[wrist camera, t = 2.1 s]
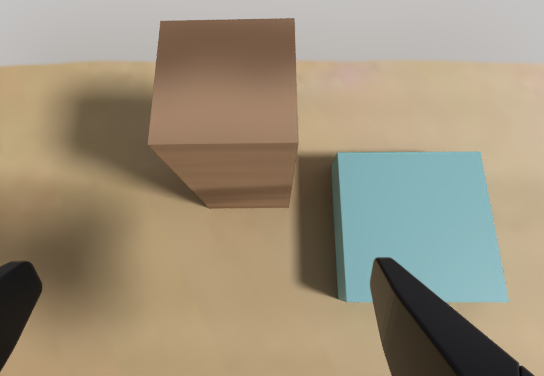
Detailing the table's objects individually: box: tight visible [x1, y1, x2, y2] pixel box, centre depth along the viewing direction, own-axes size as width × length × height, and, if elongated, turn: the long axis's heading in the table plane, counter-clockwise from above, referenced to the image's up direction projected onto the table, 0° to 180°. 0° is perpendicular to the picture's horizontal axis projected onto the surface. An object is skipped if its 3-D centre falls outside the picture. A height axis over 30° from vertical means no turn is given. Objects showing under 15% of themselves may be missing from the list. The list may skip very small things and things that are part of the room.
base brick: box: [331, 152, 509, 302], centre depth 21 cm, size 9×9×3 cm
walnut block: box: [148, 18, 298, 208], centre depth 18 cm, size 6×6×11 cm
